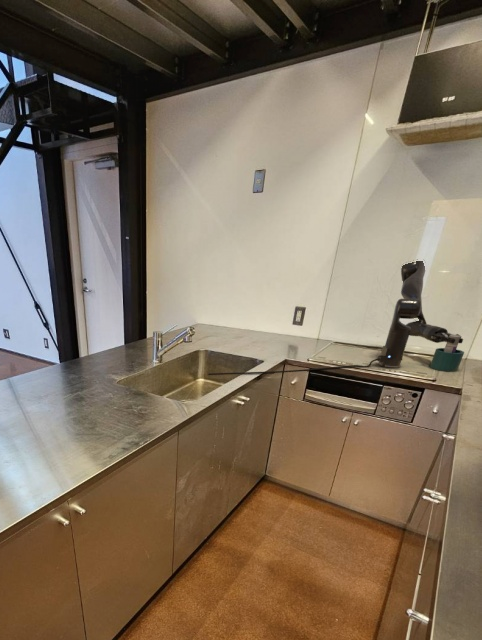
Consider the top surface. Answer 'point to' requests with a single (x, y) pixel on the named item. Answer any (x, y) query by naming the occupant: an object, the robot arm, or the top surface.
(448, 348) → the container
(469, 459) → the top surface
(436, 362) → the teal pen cup
